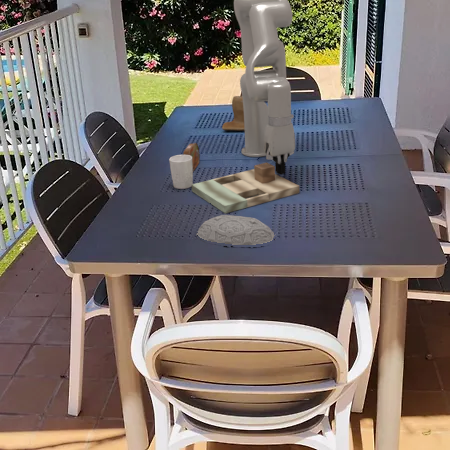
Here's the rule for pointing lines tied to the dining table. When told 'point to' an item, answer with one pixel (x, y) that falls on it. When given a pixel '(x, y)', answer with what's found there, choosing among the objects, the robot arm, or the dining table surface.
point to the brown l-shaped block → (236, 115)
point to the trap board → (243, 191)
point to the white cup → (181, 171)
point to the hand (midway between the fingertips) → (280, 173)
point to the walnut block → (264, 172)
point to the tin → (193, 154)
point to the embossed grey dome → (235, 230)
